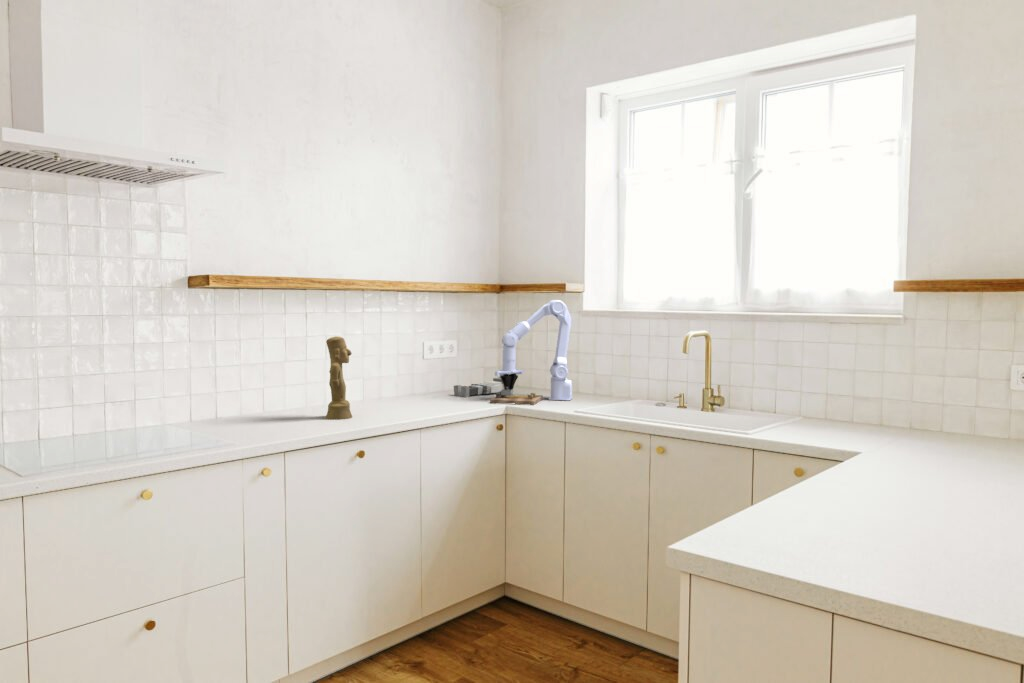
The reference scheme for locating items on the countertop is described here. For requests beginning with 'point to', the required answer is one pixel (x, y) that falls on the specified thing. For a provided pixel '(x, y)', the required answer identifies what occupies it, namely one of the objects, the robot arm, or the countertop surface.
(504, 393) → the knobbed plate
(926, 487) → the countertop surface
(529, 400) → the brown wooden board
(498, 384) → the toy figure
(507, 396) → the yellow rectangular block
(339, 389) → the statue
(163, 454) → the countertop surface
